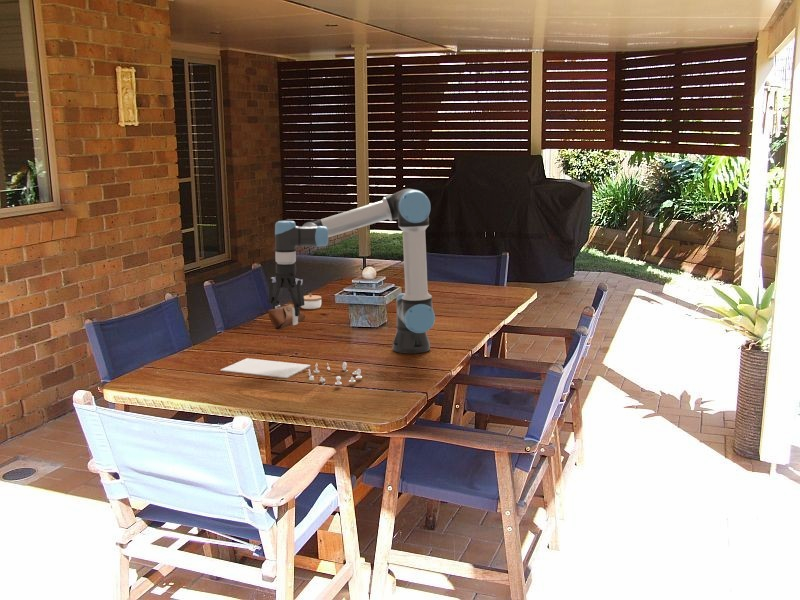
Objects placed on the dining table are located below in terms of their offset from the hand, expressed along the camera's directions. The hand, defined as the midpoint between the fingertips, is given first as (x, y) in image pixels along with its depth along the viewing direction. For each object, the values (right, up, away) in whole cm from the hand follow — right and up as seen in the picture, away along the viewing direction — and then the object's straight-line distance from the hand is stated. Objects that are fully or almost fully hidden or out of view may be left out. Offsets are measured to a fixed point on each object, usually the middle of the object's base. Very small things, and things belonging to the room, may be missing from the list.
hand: (286, 323), depth 316 cm
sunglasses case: (-3, +3, +1) cm, 4 cm away
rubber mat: (-7, -17, -3) cm, 18 cm away
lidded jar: (-1, +2, +100) cm, 100 cm away
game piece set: (+19, -19, -14) cm, 30 cm away
